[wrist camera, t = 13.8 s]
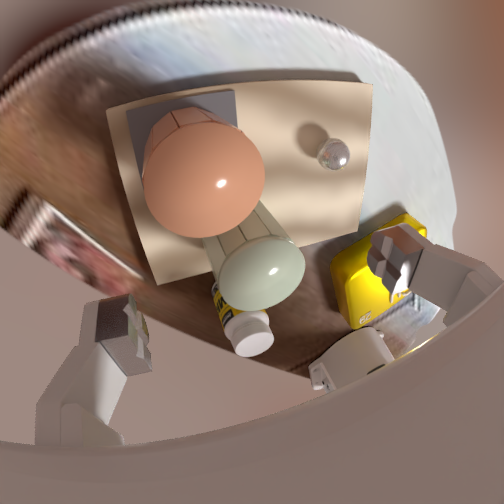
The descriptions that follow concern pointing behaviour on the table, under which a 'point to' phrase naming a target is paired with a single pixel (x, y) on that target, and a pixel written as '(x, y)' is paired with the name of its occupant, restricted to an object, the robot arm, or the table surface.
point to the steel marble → (333, 154)
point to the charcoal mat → (151, 114)
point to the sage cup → (255, 262)
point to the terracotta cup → (200, 173)
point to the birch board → (268, 164)
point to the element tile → (364, 280)
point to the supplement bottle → (243, 327)
